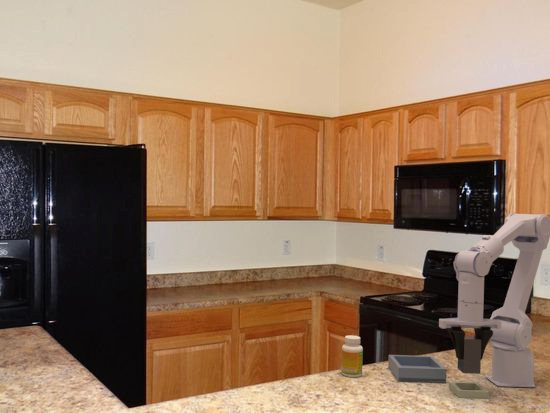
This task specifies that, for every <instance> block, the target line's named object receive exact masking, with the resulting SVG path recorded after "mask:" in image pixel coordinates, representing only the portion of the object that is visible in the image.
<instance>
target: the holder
mask: <svg viewBox="0 0 550 413" xmlns="http://www.w3.org/2000/svg"><path fill="white" fill-rule="evenodd" d="M448 389H449V390H450V391H451V392H452V393H453V394H454V395H455V396H456V397H457V398H461V399H462V398H463V399H464V398H465V399H466V398H467V399H489V398H490V397H489V393H490V392H489V391H488V390H487V389H486V388H485V387H484V386H482V384H481V383H479V382H477V381H476V382H475V381H449V380H448Z"/></svg>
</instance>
